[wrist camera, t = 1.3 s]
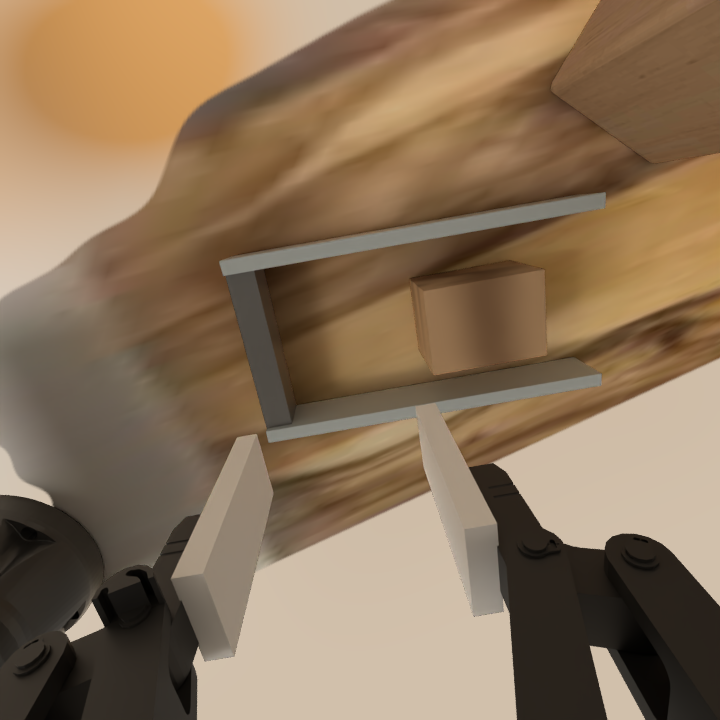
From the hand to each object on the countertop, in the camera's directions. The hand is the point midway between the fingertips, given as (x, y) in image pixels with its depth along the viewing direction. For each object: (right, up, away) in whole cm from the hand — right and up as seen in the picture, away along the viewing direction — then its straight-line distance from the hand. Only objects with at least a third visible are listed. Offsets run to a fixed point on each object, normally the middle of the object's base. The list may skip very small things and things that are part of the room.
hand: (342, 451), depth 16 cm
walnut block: (+9, +8, +18) cm, 21 cm away
